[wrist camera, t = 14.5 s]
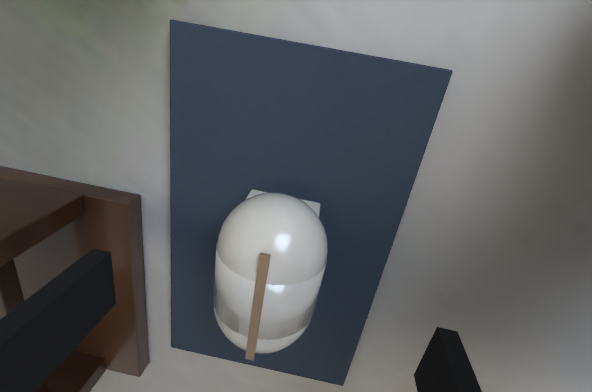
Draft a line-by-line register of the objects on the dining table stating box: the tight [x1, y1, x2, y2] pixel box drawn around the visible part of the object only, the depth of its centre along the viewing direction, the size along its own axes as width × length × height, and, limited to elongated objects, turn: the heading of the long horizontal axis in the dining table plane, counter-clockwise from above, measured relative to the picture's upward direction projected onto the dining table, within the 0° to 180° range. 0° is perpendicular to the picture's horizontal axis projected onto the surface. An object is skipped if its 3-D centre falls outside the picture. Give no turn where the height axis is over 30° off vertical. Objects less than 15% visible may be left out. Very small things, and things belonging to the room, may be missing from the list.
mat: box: [170, 20, 452, 386], centre depth 18 cm, size 12×20×1 cm, turn 170°
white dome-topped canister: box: [213, 190, 328, 361], centre depth 15 cm, size 5×8×5 cm, turn 170°
